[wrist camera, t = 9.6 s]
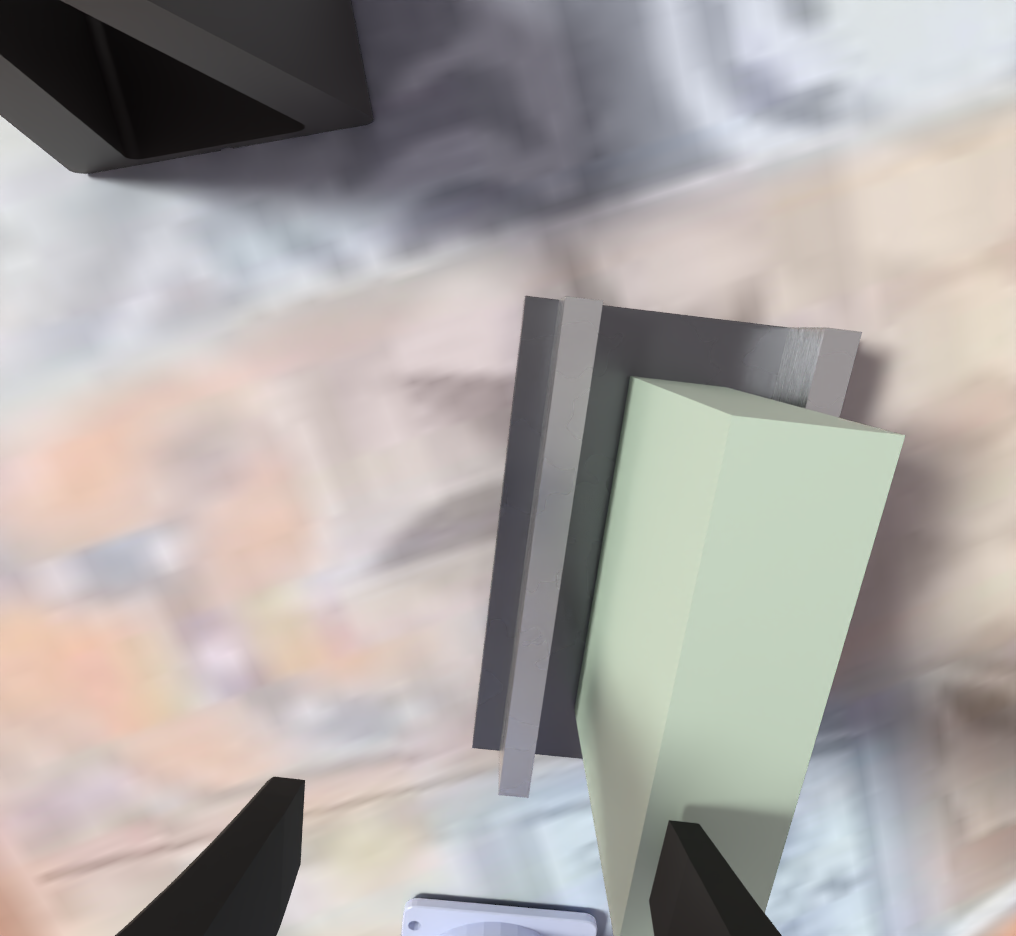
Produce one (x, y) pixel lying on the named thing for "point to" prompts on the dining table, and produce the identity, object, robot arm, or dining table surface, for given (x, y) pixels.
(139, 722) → the dining table surface
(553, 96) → the dining table surface
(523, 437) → the track
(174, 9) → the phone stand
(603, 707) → the door panel
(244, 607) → the dining table surface
